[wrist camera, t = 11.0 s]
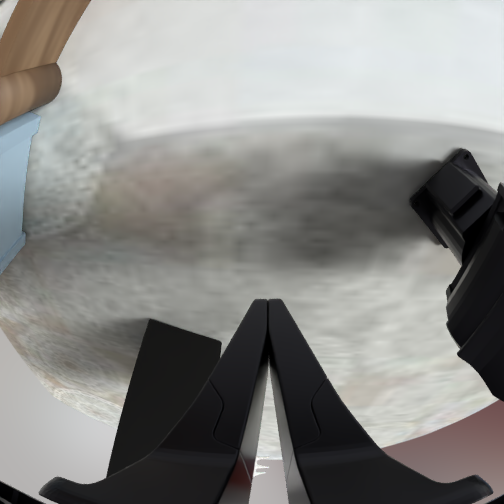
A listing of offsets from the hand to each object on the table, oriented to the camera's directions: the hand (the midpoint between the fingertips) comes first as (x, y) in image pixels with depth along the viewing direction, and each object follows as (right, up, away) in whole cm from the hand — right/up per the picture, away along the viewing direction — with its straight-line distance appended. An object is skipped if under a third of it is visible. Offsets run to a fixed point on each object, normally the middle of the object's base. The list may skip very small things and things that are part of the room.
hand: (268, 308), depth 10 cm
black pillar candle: (-9, -9, +23) cm, 26 cm away
